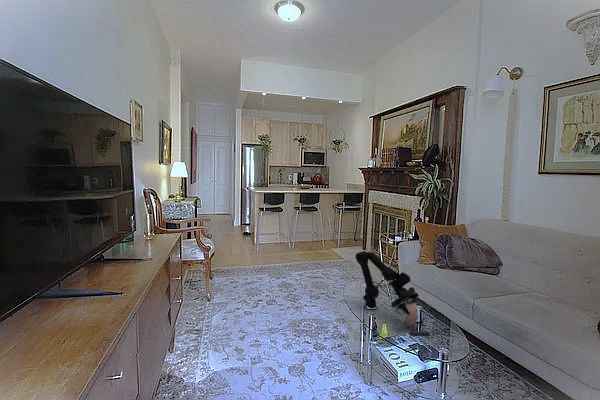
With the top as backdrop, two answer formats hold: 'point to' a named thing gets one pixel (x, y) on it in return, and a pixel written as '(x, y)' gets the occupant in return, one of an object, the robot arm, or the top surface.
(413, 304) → the terracotta jar
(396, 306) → the light bulb box
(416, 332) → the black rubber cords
